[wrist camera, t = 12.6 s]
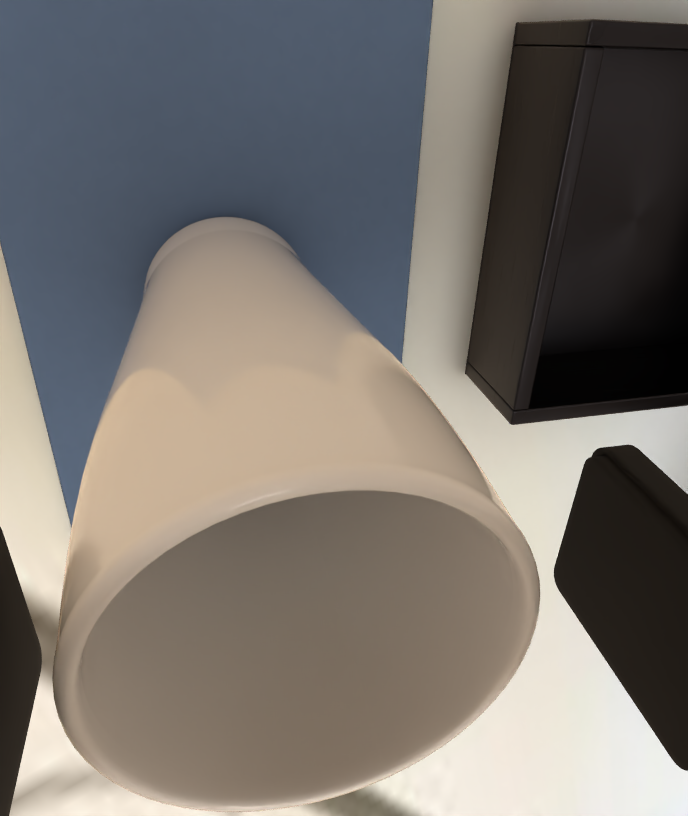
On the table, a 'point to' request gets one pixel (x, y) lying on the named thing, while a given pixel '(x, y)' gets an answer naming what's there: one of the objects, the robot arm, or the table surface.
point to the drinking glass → (276, 548)
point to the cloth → (197, 164)
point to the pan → (587, 225)
